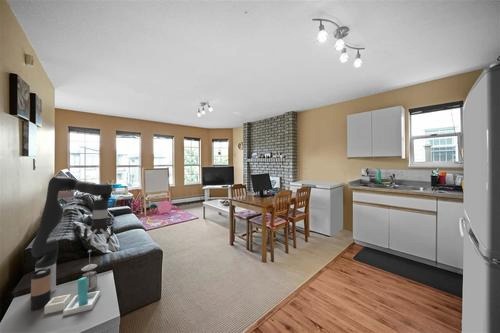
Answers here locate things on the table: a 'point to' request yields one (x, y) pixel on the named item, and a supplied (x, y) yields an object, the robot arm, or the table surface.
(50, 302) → the square box
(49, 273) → the travel mug
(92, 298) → the tray
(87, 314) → the table surface
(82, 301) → the dowel
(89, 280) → the french press
